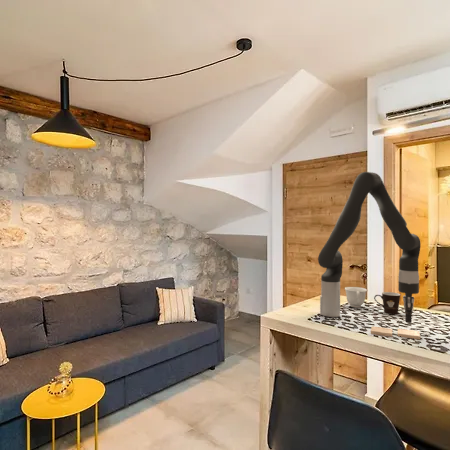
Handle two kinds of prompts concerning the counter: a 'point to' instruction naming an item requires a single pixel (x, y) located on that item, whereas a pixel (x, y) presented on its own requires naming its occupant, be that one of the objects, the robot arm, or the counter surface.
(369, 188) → the robot arm
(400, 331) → the tile
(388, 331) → the tile
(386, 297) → the coffee mug
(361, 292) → the teacup
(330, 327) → the counter surface
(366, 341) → the counter surface
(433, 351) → the counter surface
